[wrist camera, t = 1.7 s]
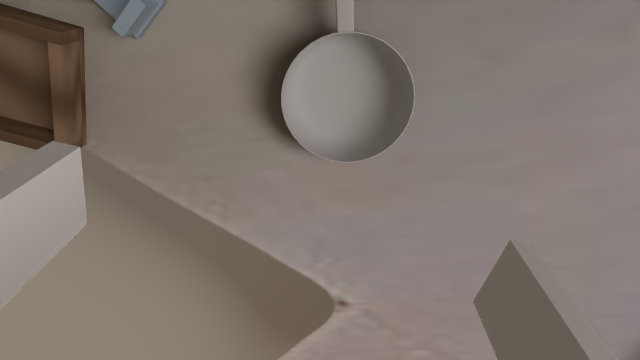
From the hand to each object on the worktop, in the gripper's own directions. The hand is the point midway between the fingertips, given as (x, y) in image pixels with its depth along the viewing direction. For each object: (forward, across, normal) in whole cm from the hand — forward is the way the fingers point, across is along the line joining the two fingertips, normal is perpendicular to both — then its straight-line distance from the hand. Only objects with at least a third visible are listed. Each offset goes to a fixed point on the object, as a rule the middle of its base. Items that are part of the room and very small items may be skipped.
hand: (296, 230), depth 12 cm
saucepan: (+24, +2, +2) cm, 24 cm away
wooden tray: (+23, -26, -7) cm, 35 cm away
